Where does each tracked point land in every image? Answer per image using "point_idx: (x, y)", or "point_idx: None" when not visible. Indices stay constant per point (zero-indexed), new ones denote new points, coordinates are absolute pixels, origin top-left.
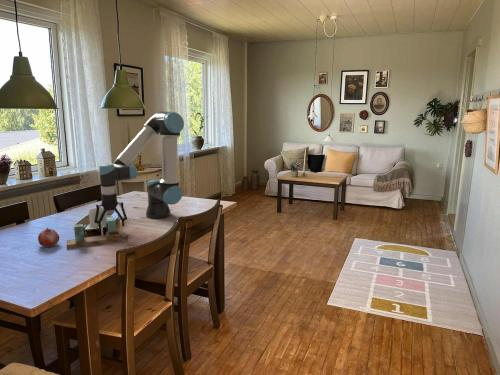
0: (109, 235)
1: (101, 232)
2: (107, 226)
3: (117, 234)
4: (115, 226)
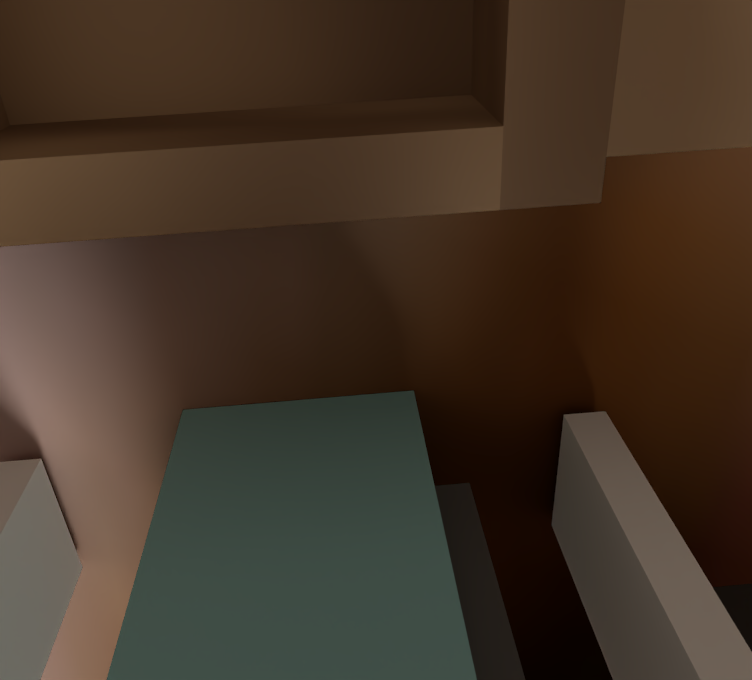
0: (421, 23)
1: (643, 485)
2: (483, 663)
3: (32, 28)
4: (132, 640)
